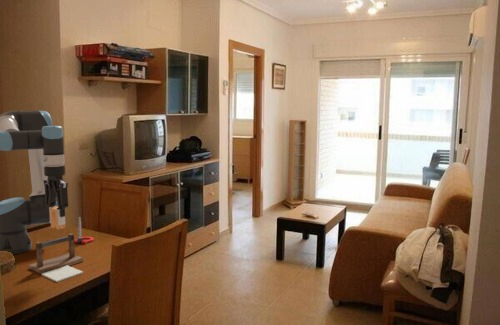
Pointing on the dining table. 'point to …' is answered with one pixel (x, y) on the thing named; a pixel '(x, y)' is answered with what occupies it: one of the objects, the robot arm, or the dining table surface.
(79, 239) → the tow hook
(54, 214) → the c-link
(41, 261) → the stand
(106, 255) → the dining table surface
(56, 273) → the rubber mat
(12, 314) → the dining table surface
